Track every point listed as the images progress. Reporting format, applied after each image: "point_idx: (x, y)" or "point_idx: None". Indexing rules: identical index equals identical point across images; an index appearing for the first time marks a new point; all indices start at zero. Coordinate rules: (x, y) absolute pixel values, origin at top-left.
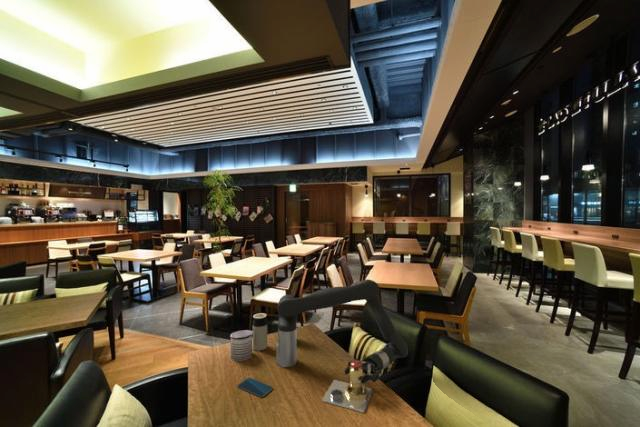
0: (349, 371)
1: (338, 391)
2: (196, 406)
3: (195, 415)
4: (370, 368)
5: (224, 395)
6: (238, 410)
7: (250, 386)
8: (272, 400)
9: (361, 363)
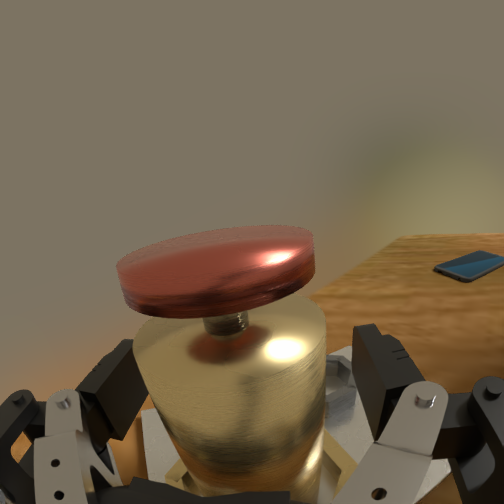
0: (366, 397)
1: (337, 394)
2: (434, 235)
3: (414, 235)
4: (35, 475)
5: (455, 246)
6: (406, 253)
7: (475, 258)
8: (419, 278)
9: (125, 266)
